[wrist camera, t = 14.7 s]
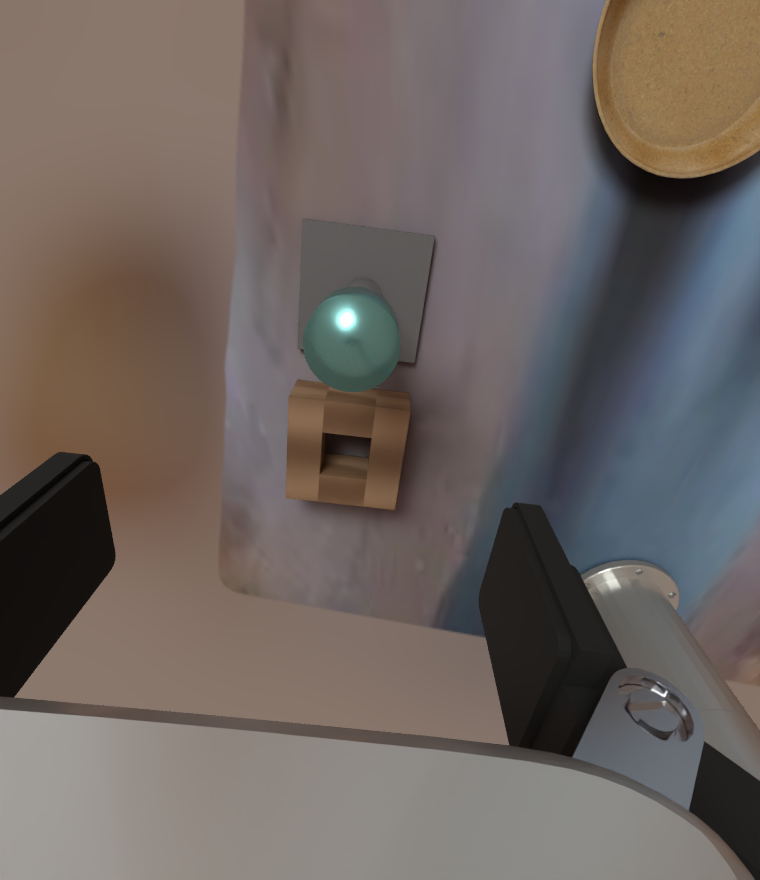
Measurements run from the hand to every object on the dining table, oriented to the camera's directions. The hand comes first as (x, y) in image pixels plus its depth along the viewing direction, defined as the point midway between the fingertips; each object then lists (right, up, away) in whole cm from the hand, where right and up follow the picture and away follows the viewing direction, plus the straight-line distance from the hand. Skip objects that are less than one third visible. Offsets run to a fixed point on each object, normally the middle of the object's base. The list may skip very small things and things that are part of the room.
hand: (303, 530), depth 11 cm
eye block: (-1, +3, +33) cm, 33 cm away
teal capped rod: (0, +14, +26) cm, 30 cm away
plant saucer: (+22, +28, +20) cm, 41 cm away
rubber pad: (0, +14, +27) cm, 30 cm away
